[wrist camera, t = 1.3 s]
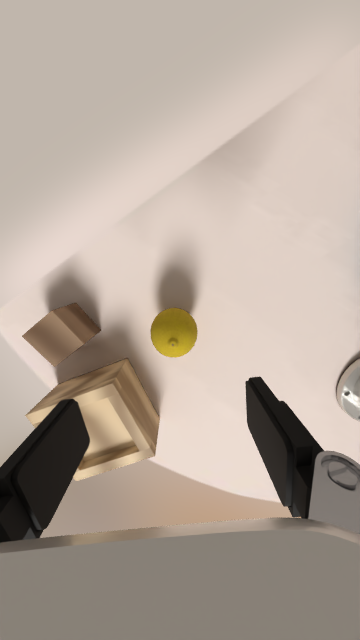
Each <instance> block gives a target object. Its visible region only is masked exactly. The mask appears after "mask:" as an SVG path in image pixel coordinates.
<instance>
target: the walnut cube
mask: <svg viewBox="0 0 360 640" xmlns="http://www.w3.org/2000/svg"><path fill="white" fill-rule="evenodd" d="M100 331H101V329H100V328H99V327H98V326H97V325H96V324H95V323H94V322H93V321H92V320H91V319H90V318H89V316H88V315H87V314H86V313H85V312H84V311H83V310H82V309H81V308H80V307H79V306H78V304H77V303H73V304H70V305H67V306H64V307H61V308H58V309H55V310H52V311H51V312H49V313H48V314H47V315H46V316H45V317H44V318H42V319H41V320H40V321H39V322H38V323H37V324H35V325H34V326H33V327H32V328H31V329H30V330H28V331H27V332H26V333H25V334H24V335H23V336H22V337H23V338H24V339H25V340H26V341H27V342H29V343H30V344H31V345H32V346H33V347H34V348H35V349H36V350H37V351H38V352H39V353H40V354H41V355H42V356H43V357H44V358H45V359H46V360H48V361H49V362H50V363H51V364H52V365H53V366H54V367H55V366H57V365H58V364H59V363H60V362H62V361H63V360H64V359H65V358H67V357H68V356H69V355H71V354H72V353H73V352H74V351H76V350H77V349H78V348H80V347H81V346H82V345H83V344H85V343H86V342H87V341H88V340H90V339H91V338H92V337H94V336H95V335H96V334H97V333H99V332H100Z"/></svg>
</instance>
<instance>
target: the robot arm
mask: <svg viewBox="0 0 360 640" xmlns="http://www.w3.org/2000/svg"><path fill="white" fill-rule="evenodd" d="M337 400H338V403H339V405H340V407H341V408H342V409H343V410H344V411H345V412H346V413H347V414H348V415H349V416H351V417H352V418H353V419H355V420H357V421H360V358H359V359H358V360H356V361H355V362H354V363H353V364H351V365H350V366H349V367H348V369H347V370H346V371H345V372H344V374H343V375H342V377H341V379H340V381H339V384H338V387H337ZM246 405H247V423H248V427H249V430H250V432H251V434H252V437H253V439H254V441H255V444H256V446H257V448H258V450H259V453H260V455H261V457H262V459H263V462H264V464H265V466H266V469H267V471H268V473H269V475H270V478H271V480H272V482H273V484H274V487H275V489H276V491H277V494H278V496H279V498H280V500H281V503H282V504H283V506H288V508H289V510H290V512H291V514H292V517H301V518H260V519H246V520H230V521H218V522H207V523H196V524H183V525H172V526H160V527H151V528H139V529H128V530H118V531H107V532H97V533H86V534H76V535H67V536H57V537H47V538H40V535H41V534H42V532H43V530H44V529H46V528H47V526H48V525H49V523H50V521H51V519H52V518H53V516H54V514H55V512H56V510H57V508H58V506H59V504H60V502H61V500H62V498H63V496H64V494H65V492H66V490H67V488H68V486H69V484H70V482H71V480H72V478H73V476H74V474H75V472H76V470H77V468H78V466H79V465H80V463H81V461H82V459H83V457H84V455H85V453H86V451H87V449H88V447H89V444H90V437H89V434H88V431H87V428H86V425H85V422H84V419H83V416H82V413H81V410H80V407H79V404H78V402H77V401H75V400H74V399H64V400H61V401H60V402H59V403H58V404H57V405H56V406H55V407H54V408H53V409H52V411H51V412H50V413H49V414H48V415H47V416H46V417H45V418H44V419H43V421H42V422H41V423H40V424H39V425H38V426H37V427H36V428H35V429H34V431H33V432H32V433H31V434H30V435H29V436H28V437H27V438H26V440H25V441H24V442H23V443H22V444H21V445H20V446H19V447H18V448H17V449H16V451H15V452H14V453H13V454H12V455H11V456H10V457H9V458H8V459H7V461H6V462H5V463H4V464H3V465H2V466H1V467H0V640H360V465H359V464H358V463H357V462H355V461H354V460H353V459H351V458H349V457H347V456H345V455H343V454H341V453H338V452H335V451H324V450H323V449H322V448H321V446H320V445H319V444H318V443H317V441H316V440H315V439H314V438H313V436H312V435H311V434H310V433H309V431H308V430H307V429H306V428H305V426H304V425H303V424H302V423H301V421H300V420H299V419H298V418H297V416H296V415H295V414H294V413H293V411H292V410H291V409H290V408H289V406H288V405H287V404H286V403H285V402H284V401H279V400H278V399H277V398H276V397H275V395H274V394H273V393H272V391H271V390H270V389H269V387H268V386H267V385H266V383H265V382H264V381H263V379H262V378H261V377H253V378H249V381H246Z"/></svg>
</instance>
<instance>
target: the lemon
mask: <svg viewBox="0 0 360 640" xmlns="http://www.w3.org/2000/svg"><path fill="white" fill-rule="evenodd" d="M151 339H152V342H153V345H154V346H155V348H156V349H157V350H158V351H159V352H160V353H161V354H163V355H165V356H168V357H180V356H182V355H185V354H186V353H188V352H189V351H190V350H191V349H192V347H193V346H194V344H195V342H196V339H197V325H196V323H195V321H194V319H193V317H192V316H191V315H190V314H189V313H188V312H186V311H185V310H182V309H179V308H169V309H166V310H164V311H162V312H161V313H159V314H158V315H157V316H156V318H155V319H154V321H153V323H152V326H151Z"/></svg>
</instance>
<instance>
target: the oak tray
mask: <svg viewBox="0 0 360 640" xmlns="http://www.w3.org/2000/svg"><path fill="white" fill-rule="evenodd" d="M64 399H74V400H75V401H77V402H78V404H79V407H80V410H81V413H82V416H83V419H84V422H85V425H86V428H87V431H88V434H89V437H90V444H89V447H88V449H87V451H86V453H85V455H84V457H83V459H82V461H81V463H80V465H79V466H78V468H77V470H76V472H75V474H74V476H73V478H74V479H75V480H76V481H78V480H81V479H84V478H87V477H91V476H93V475H97V474H100V473H103V472H106V471H110V470H112V469H116V468H119V467H122V466H125V465H128V464H132V463H134V462H138V461H141V460H144V459H147V458H150V457H154V456H155V452H156V444H157V436H158V428H159V421H160V419H159V417H158V415H157V413H156V411H155V409H154V407H153V406H152V404H151V402H150V400H149V398H148V396H147V394H146V392H145V390H144V389H143V387H142V385H141V383H140V381H139V379H138V377H137V375H136V374H135V372H134V370H133V368H132V366H131V364H130V362H129V360H128V359H127V358H126V359H124V360H121V361H119V362H116V363H113V364H111V365H108V366H105V367H103V368H100V369H97V370H95V371H92V372H90V373H87V374H84V375H82V376H79V377H76V378H74V379H71V380H69V381H66V382H63V383H61V384H58V385H57V386H56V387H55V388H54V389H53V390H52V391H51V392H49V393H48V395H47V396H45V397H44V398H43V399H42V400H41V401H40V402H39V403H38V404H37V405H36V406H35V407H34V408H33V409H32V410H31V411H30V412H29V413H28V414H26V415H25V416H26V417H27V418H28V419H29V420H30V422H31V423H32V425H33V426H34V427H35V428H36V427H37V426H38V425H39V424H40V423H41V422H42V421H43V419H44V418H45V417H46V416H47V415H48V414H49V413H50V412H51V411H52V409H53V408H54V407H55V406H56V405H57V404H58V403H59V402H60V401H61V400H64Z"/></svg>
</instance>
